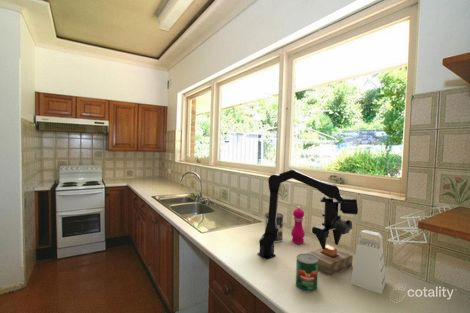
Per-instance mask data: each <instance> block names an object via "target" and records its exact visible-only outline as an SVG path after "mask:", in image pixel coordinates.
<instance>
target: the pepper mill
mask: <svg viewBox="0 0 470 313" xmlns="http://www.w3.org/2000/svg"><path fill="white" fill-rule="evenodd" d="M292 215H293V220H294V226H293V228H292V230H291V233H290V234H291V237H292V238H291V242H292V243H294V244H298V245H299V244H300V245H302V244H304V243H305V242H304V241H305V239H304V238H305V237H306V235H305V234H306V233H305V230H304V227H303V221H304V217H305V212H304V210H303V209H301V206H299V205H298V206H297V207H296V208H295V209H294V210H293V212H292Z"/></svg>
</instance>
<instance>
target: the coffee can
mask: <svg viewBox="0 0 470 313" xmlns="http://www.w3.org/2000/svg"><path fill="white" fill-rule="evenodd" d="M268 214H269V212H266V213H264V231H265V230H266V226H267V223H268ZM276 222H277V225H280V227H279V235H278V238H276V240H275V241H274V243H281V242H282V241H283V240H284V239H283V238H284V235H283V233H284V232H283V230H284V214H283V213H281V212H277V219H276Z"/></svg>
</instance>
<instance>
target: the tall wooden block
mask: <svg viewBox="0 0 470 313" xmlns="http://www.w3.org/2000/svg"><path fill="white" fill-rule="evenodd" d="M337 249H338V248H336V247H334V246H331V245H329V244H326V246H325V249H323V254H324V255H326V256H329V257H331V258H336V257H337Z"/></svg>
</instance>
